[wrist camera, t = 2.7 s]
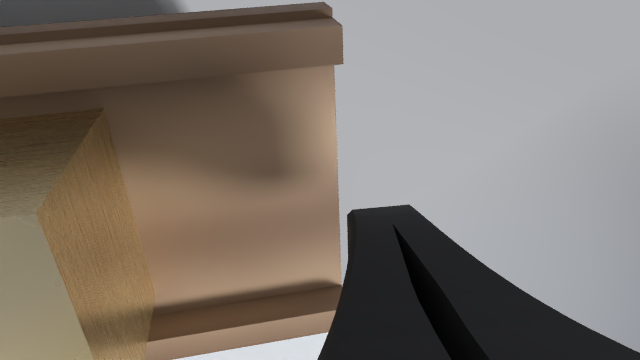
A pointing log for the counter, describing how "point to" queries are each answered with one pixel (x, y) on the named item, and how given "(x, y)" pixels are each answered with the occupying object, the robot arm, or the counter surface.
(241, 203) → the beam
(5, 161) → the block
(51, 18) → the counter surface
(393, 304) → the robot arm
